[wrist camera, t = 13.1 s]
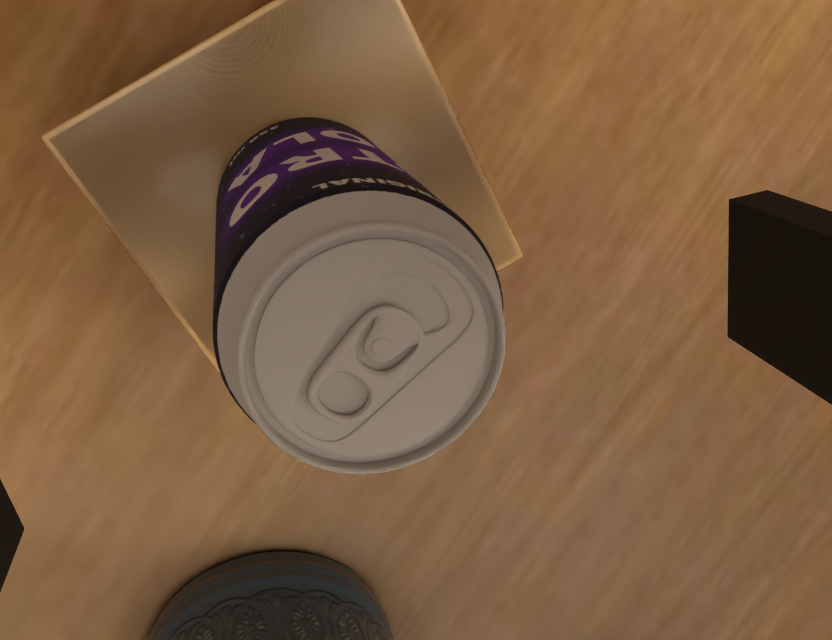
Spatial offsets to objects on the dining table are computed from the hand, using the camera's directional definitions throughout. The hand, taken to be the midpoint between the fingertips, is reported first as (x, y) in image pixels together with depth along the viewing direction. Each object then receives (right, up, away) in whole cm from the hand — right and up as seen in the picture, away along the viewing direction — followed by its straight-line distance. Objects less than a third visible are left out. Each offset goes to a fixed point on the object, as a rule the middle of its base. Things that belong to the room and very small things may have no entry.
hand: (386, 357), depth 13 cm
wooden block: (-5, +7, +19) cm, 21 cm away
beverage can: (-3, +4, +12) cm, 13 cm away
